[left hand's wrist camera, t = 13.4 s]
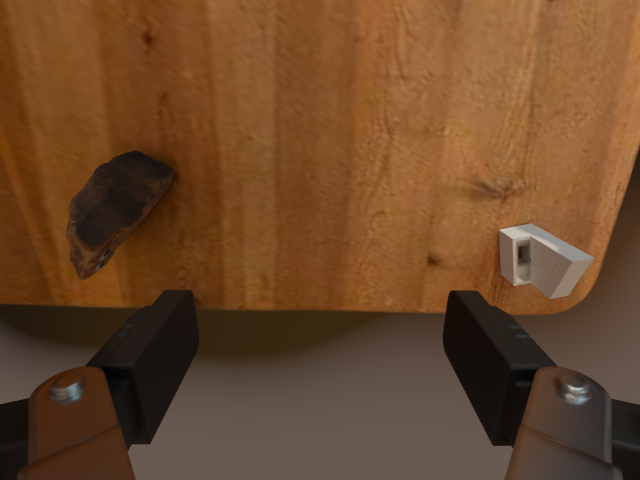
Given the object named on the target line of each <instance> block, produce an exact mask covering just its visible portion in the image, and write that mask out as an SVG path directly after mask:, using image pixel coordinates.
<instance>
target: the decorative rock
mask: <svg viewBox="0 0 640 480" xmlns="http://www.w3.org/2000/svg"><path fill="white" fill-rule="evenodd" d="M173 175H174V171H173V170H172V169H171V168H169V167H168V166H166V165H165V164H163V163H162V162H160V161H157V160H155V159H153V158H151V157H149V156H147V155H145V154H143V153H141V152H138V151H132V152H128V153H124V154H122V155H119V156H117V157H115V158H113V159H112V160H111V161H110V162H108V163H105V164H102V165H101V166H99V167H98V168H97V169H96V170H95V171H94V174H93V175H92V177H91V178H90V179H89V181H88V182H87V184H86V185H85V187H84V188H83V189H82V190H81V191H80V192H79V193H78V194H77V195H76V196H75V197H74V198H73V199H72V201H71V203H70V206H69V215H70V219H69V223H68V226H67V232H66V236H67V240H68V241H69V244H70V249H71V251H70V261H71V262H73V265H74V267H75V268H76V270H77V273H78V275H79V277H80V279H82V280H86V279H87V278H89V277H90V276H92V275H93V274H95V273H96V272H97V271H98V270H100V269H101V268H102V267H103V266H104V265H105V264H106V263H107V262H108V261H109V259H110V258H111V257H112V255H113V254H114V251H115V249H116V248H117V247H118V246H119V245H120V244H121V243H122V242H123V241H124V240H125V239H126V238H127V237H128V236H129V235H130V233H131V232H132V231H133V230H134V229H135V228H136V226H137V225H138V224H139V223H140V222H141V221H142V220H143V219H144V217H145V216H146V215H147V214H148V213H149V212H150V210H151V209H152V208H153V207H154V205H155V204H156V203H157V202H158V200H159V199H160V197H161V196H162V195H163V194H164V193H165V191H166V190H167V189H168V188H169V186H170V184H171V180H172V178H173Z"/></svg>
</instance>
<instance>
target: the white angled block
mask: <svg viewBox="0 0 640 480" xmlns="http://www.w3.org/2000/svg"><path fill="white" fill-rule="evenodd" d="M499 244H500V269H501V275H503V276H504V277H505V278H506V279H507V280H508V281H509V282H510V283H511V284H512V285H513V286H517V285H522V284H528V283H531V284H532V285H533V286H535V287H536V288H537V289H538V290H539V291H541V292H542V293H543V294H544V295H546V296H547V297H548V298H549V299H553V298H558V297H564V296H568V295H569V294H570V292H571V291H572V289H573V288H574V286H575V285H576V283H577V282H578V280H579V279H580V278H581V276H582V275H583V273H584V272H585V270H586V269H587V267H588V266H589V265H590V263H591V262H592V260H593V259H594V258H593V257H592V256H590V255H588V254H586V253H584V252H582V251H581V250H579V249H577V248H575V247H573V246H571V245H570V244H568V243H566V242H564V241H562V240H560V239H559V238H557V237H555V236H553V235H551V234H549V233H548V232H546V231H544V230H542V229H540V228H539V227H537V226H535V225H533V224H526V225H521V226H515V227H510V228H505V229H500V230H499ZM520 246H521V255H522V258H518V247H520Z"/></svg>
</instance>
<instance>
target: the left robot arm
mask: <svg viewBox="0 0 640 480" xmlns="http://www.w3.org/2000/svg"><path fill="white" fill-rule="evenodd" d="M198 343H199V331H198V324H197V316H196V309H195V301H194V296H193V293H192V291H191V290H165V291H164V292H163V293H162V294H161V295H160V296H159V297H158V299H157V300H156V301H155V302H154V303H153V304H152V306H145V307H144V308H142V309H141V310H139V311H137V312H136V313H134V314H132V315H131V316H130V317H129V318H128V319H127V320H126V322H125V323H124V324H123V325H122V328H119V329H118V330H117V331H116V333H115V334H114V335H113V337H111V338H110V339H109V340H108V341H107V342H106V343H105V345H104V346H103V347H102V348H101V349H100V350H99V351H98V352H97V353H96V354H95V356H94V357H93V358H92V359H91V360H90V361H89V362H88V363H87V364H86V365H85V366H84V367H77V368H73V369H69V370H66V371H63V372H61V373H59V374H57V375H54V376H53V377H51V378H49V379H48V380H46V381H45V382H43V383H42V384H41V385H39V386H38V387H37V388H36V389H35V390H34V391H33V393H32V394H31V396H30V398H28V399H23V400H19V401H14V402H9V403H4V404H0V480H136V479H135V476H134V472H133V469H132V465H131V462H130V458H129V455H128V450H129V448H130V446H131V445H132V444H150V443H151V441H152V439H153V437H154V435H155V433H156V431H157V429H158V427H159V425H160V423H161V421H162V420H163V417H164V416H165V414H166V412H167V410H168V408H169V406H170V404H171V402H172V400H173V398H174V396H175V394H176V392H177V390H178V388H179V386H180V384H181V382H182V380H183V378H184V376H185V374H186V372H187V370H188V368H189V366H190V364H191V362H192V360H193V358H194V356H195V354H196V352H197V348H198ZM443 345H444V350H445V353H446V355H447V357H448V359H449V361H450V363H451V365H452V367H453V369H454V371H455V373H456V375H457V377H458V379H459V381H460V382H461V384H462V386H463V388H464V390H465V392H466V394H467V396H468V398H469V400H470V402H471V404H472V406H473V408H474V410H475V412H476V414H477V416H478V418H479V420H480V422H481V423H482V425H483V427H484V429H485V431H486V433H487V435H488V437H489V439H490V441H491V443H492V445H493V446H512V448H513V451H512V455H511V458H510V462H509V465H508V469H507V472H506V476H505V479H504V480H640V405H638V404H633V403H628V402H624V401H619V400H614V399H611V398H610V396H609V394H608V393H607V392H606V390H605V389H604V388H603V387H602V386H601V385H599V384H598V383H597V382H595V381H594V380H593V379H591V378H589V377H587V376H586V375H583V374H581V373H579V372H576V371H574V370H571V369H567V368H563V367H558V366H557V365H556V364H555V363H554V362H553V361H552V360H551V359H550V358H549V357H548V355H547V354H546V353H545V352H544V351H543V350H542V349H541V348H540V347H539V346H538V345H537V344H536V342H535V341H534V340H533V339H532V338H529V335H528V334H527V333H526V332H525V331H524V329H521V326H520V325H519V324H518V323H517V322H516V321H515V320H514V319H513V317H512V316H511V315H509V314H507V313H506V312H504V311H502V310H501V309H499V308H497V307H496V306H490V305H489V304H488V302H487V301H486V300H485V299H484V298H483V297H482V295H481V294H480V293H479V292H478V291H451V292H450V293H449V296H448V302H447V309H446V316H445V323H444V330H443Z"/></svg>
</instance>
